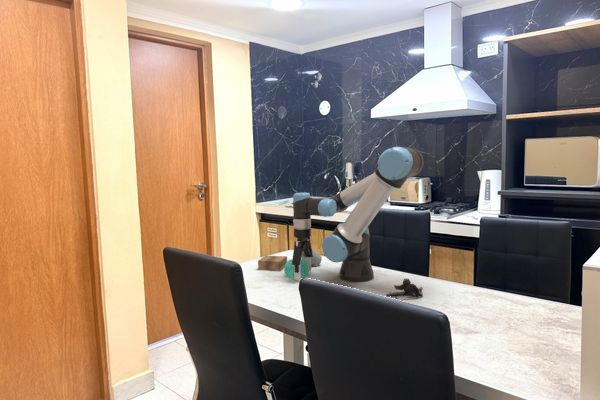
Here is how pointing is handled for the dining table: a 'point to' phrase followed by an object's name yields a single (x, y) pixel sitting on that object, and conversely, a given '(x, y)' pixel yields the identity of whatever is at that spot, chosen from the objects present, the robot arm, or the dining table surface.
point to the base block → (272, 263)
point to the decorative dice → (290, 269)
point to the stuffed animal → (406, 291)
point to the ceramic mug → (313, 258)
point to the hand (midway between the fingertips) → (303, 275)
